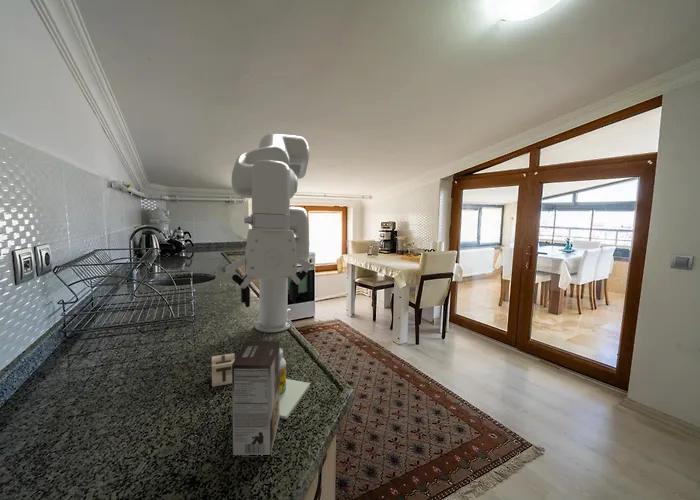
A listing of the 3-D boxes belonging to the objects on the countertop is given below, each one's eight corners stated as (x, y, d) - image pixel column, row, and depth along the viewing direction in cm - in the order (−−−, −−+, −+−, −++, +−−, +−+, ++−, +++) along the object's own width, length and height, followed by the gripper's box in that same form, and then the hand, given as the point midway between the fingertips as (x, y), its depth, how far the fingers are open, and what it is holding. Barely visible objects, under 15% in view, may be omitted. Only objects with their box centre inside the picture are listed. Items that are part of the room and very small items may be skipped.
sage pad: (263, 376, 72) (263, 374, 72) (310, 385, 69) (310, 383, 69) (232, 407, 60) (232, 404, 60) (286, 419, 57) (286, 416, 57)
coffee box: (246, 419, 57) (246, 339, 55) (280, 418, 57) (281, 339, 55) (231, 458, 48) (230, 364, 46) (271, 457, 48) (271, 364, 46)
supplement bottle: (280, 383, 68) (281, 343, 67) (289, 395, 64) (290, 353, 63) (257, 390, 65) (257, 349, 64) (265, 403, 61) (265, 359, 60)
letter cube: (212, 376, 71) (211, 355, 71) (234, 372, 74) (234, 352, 73) (212, 387, 67) (211, 366, 66) (235, 383, 69) (235, 362, 68)
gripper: (226, 223, 54) (228, 313, 56) (316, 224, 61) (314, 304, 64) (224, 221, 60) (225, 302, 63) (305, 222, 68) (304, 294, 70)
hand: (270, 302), depth 63 cm, fingers open, 9 cm apart
